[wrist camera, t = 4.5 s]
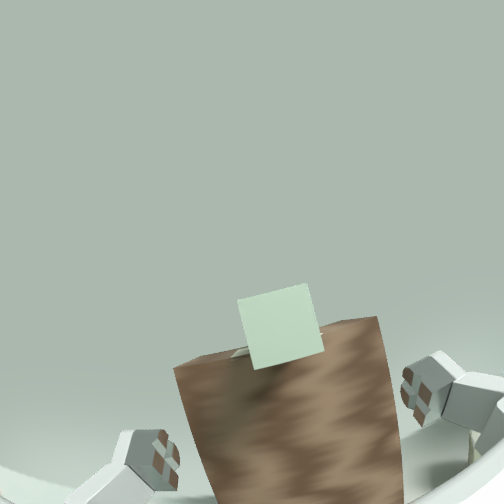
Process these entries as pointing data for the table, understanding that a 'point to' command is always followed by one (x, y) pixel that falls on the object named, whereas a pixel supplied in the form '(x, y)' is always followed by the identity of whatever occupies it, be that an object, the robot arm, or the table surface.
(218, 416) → the stand
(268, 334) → the bar
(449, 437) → the table surface
